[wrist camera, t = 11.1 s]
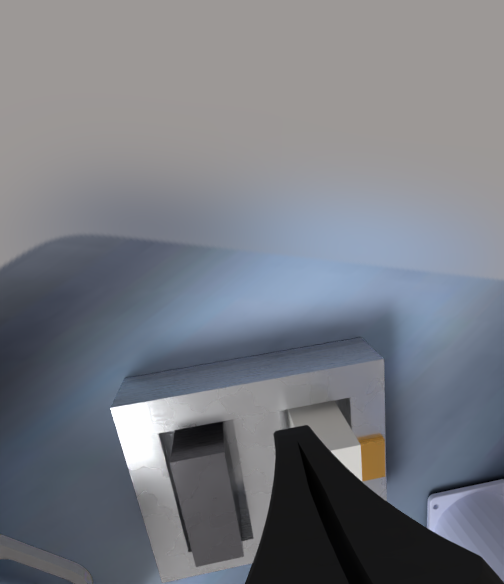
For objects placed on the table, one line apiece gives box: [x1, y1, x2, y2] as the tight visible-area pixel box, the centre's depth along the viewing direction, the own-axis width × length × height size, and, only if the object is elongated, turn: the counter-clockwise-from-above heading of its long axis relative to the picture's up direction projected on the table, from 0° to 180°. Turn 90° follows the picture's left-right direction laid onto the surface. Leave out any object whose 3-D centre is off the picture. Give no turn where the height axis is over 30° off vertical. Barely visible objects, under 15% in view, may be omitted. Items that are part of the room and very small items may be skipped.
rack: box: [110, 337, 387, 583], centre depth 22 cm, size 14×16×5 cm
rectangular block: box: [285, 401, 362, 481], centre depth 21 cm, size 8×3×6 cm, turn 8°
